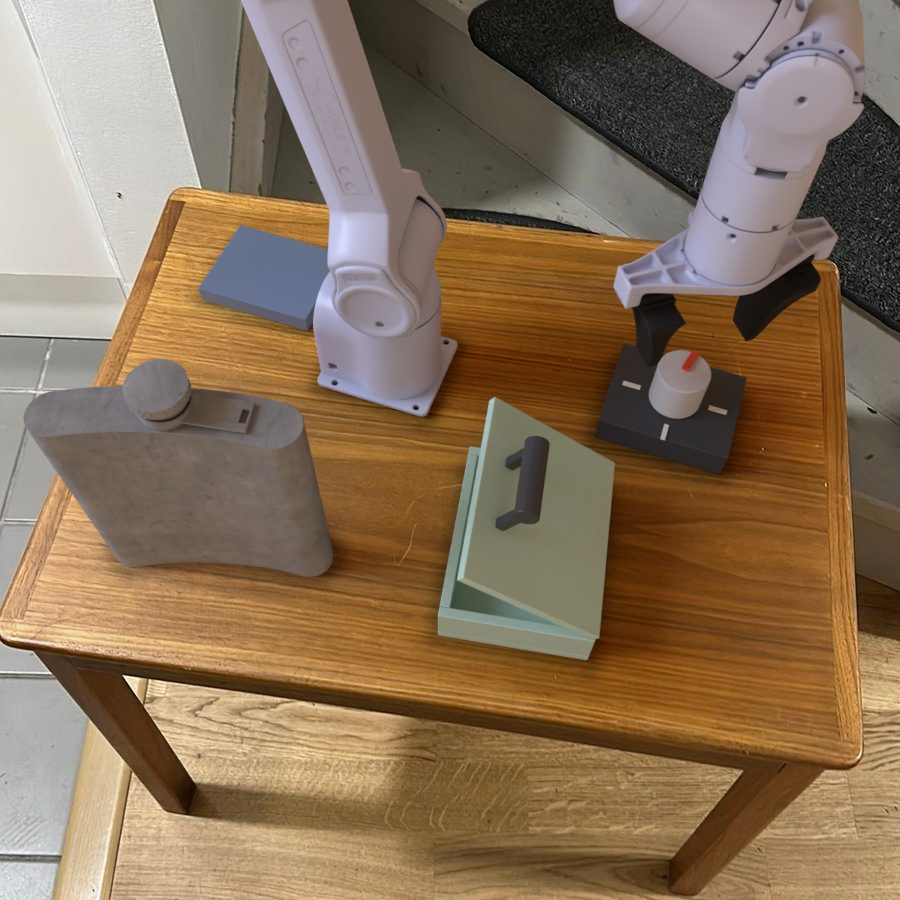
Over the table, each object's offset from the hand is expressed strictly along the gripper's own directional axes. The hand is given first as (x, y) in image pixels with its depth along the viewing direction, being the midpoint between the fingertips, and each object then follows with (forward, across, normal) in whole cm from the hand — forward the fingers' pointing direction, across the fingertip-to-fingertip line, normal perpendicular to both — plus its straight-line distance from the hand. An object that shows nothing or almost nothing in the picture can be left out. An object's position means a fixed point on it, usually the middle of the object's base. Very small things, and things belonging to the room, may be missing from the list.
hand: (695, 342), depth 66 cm
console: (+9, 0, 0) cm, 9 cm away
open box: (+9, +15, +8) cm, 20 cm away
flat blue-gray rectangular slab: (+9, +27, -23) cm, 37 cm away
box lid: (+3, +15, +9) cm, 17 cm away
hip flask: (+10, +36, +1) cm, 37 cm away
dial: (+7, 0, 0) cm, 7 cm away
